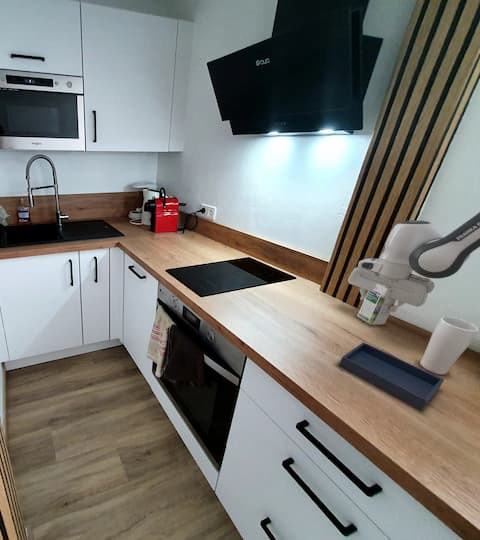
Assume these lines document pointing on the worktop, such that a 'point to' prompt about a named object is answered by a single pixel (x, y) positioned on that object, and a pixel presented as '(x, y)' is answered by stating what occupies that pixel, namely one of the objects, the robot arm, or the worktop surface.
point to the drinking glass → (447, 344)
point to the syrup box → (377, 305)
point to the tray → (392, 374)
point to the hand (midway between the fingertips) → (377, 305)
